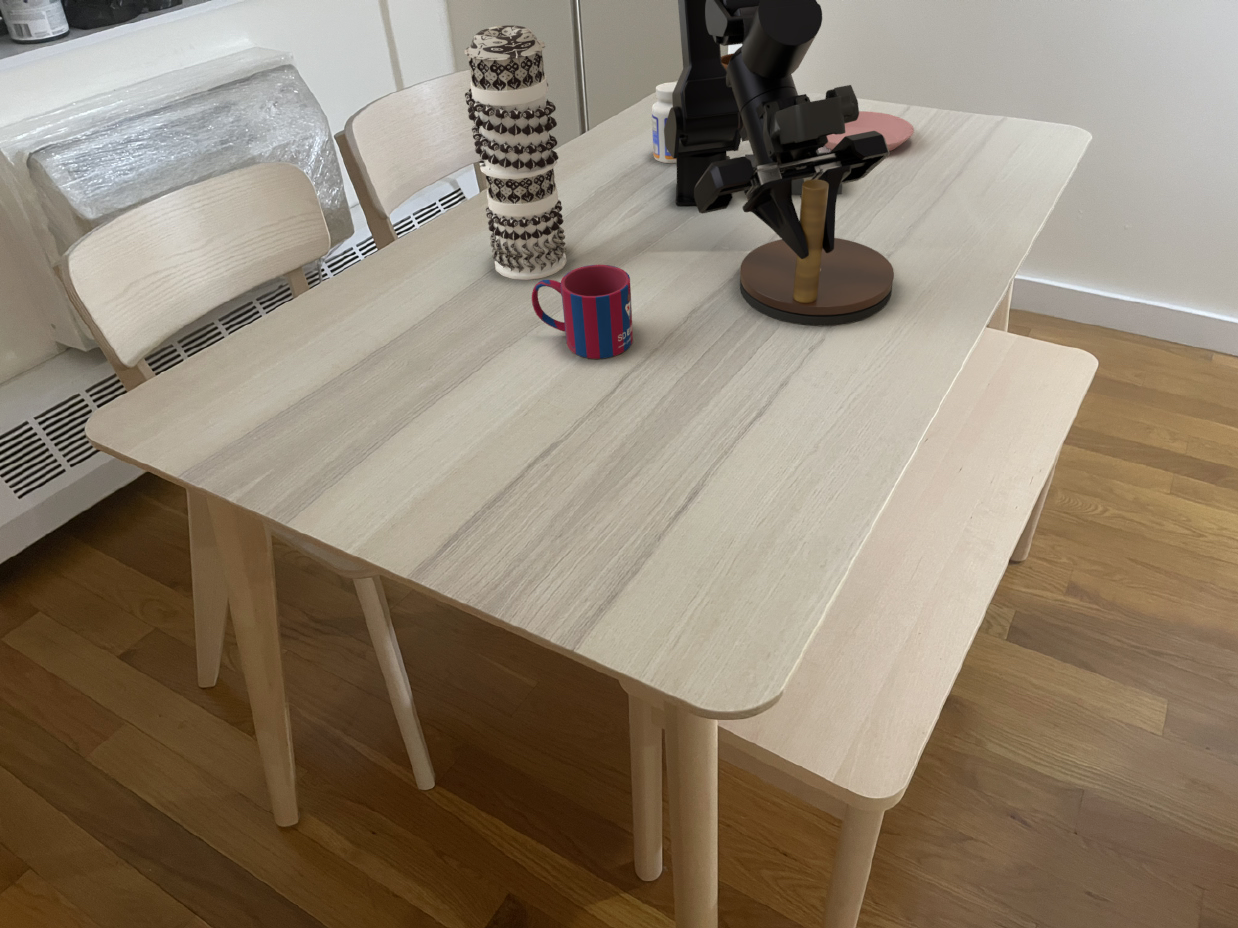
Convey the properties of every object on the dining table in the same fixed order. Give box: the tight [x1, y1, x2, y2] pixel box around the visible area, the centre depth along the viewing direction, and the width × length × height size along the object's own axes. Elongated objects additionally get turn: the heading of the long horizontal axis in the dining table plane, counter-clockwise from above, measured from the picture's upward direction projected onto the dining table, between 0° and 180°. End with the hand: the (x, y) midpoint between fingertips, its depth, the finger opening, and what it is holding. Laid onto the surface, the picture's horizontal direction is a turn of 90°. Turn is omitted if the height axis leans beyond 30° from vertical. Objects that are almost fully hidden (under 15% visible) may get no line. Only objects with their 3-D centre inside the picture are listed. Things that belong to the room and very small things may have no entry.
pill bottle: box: [651, 81, 677, 164], centre depth 124 cm, size 5×5×10 cm
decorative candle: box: [464, 24, 568, 281], centre depth 96 cm, size 9×9×25 cm
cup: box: [531, 264, 634, 360], centre depth 88 cm, size 7×10×7 cm
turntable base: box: [739, 278, 893, 327], centre depth 95 cm, size 16×16×1 cm
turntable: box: [739, 179, 895, 315], centre depth 91 cm, size 16×16×13 cm
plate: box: [824, 110, 915, 152], centre depth 127 cm, size 14×14×2 cm
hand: (817, 254), depth 85 cm, fingers closed on turntable, 2 cm apart
